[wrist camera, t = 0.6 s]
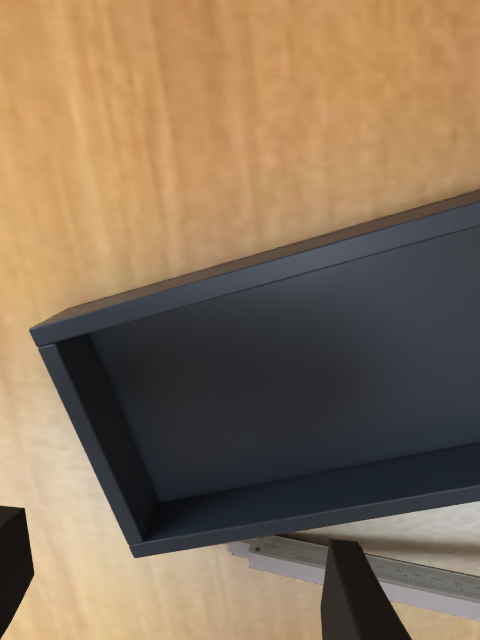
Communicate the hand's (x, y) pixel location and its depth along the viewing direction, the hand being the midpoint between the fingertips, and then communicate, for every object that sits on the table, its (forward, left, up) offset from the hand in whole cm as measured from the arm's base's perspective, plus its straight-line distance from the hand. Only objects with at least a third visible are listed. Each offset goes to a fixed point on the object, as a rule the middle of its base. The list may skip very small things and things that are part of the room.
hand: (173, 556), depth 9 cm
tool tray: (-1, -6, -10) cm, 12 cm away
